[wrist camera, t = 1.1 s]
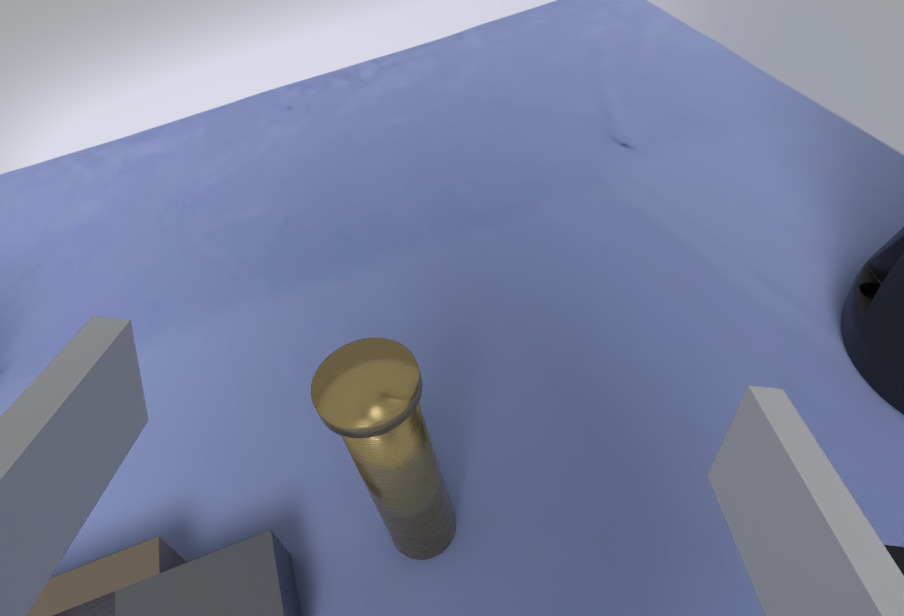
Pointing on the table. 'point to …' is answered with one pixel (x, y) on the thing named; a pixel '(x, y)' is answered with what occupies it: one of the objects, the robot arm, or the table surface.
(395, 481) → the link pin
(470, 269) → the table surface
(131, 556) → the chain joint
